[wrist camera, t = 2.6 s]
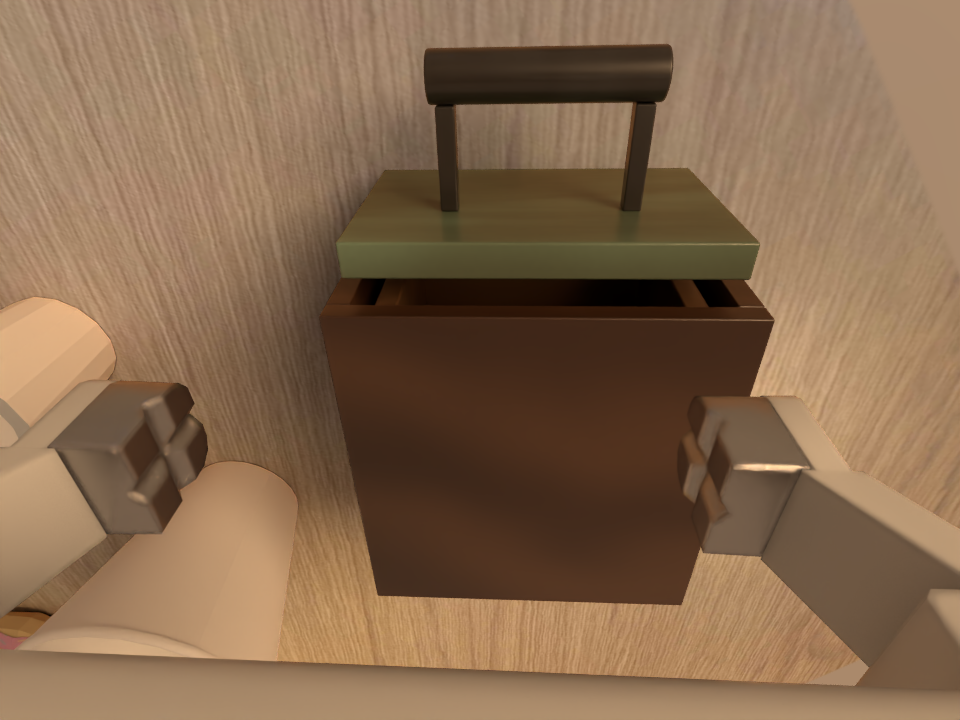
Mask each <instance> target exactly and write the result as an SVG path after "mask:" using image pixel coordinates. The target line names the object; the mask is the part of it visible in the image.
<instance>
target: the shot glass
mask: <svg viewBox="0 0 960 720" xmlns="http://www.w3.org/2000/svg"><path fill="white" fill-rule="evenodd" d="M115 362H116V355H115V352H114V348H113V345H112V342H111V340H110V339H109V338H108V336H107V335H106V334H105V332H104V331H103V330H102V328H101V327H100V326H99V325H98V323H96V322H95V321H94V320H92V319H91V318H90V317H88V316H87V315H86V314H84V313H83V312H82V311H80V310H79V309H77V308H75V307H72V306H70V305H68V304H65V303H63V302H61V301H58V300H56V299H48V298H40V297H31V298H28V299H24V300H21V301H17V302H15V303H13V304H11V305H9V306H7V307H5V308H3V309H1V310H0V447H10V446H11V445H12V444H14V443H15V442H16V441H17V440H18V439H19V438H20V437H21V436H22V435H23V434H24V433H25V432H26V431H28V430H29V429H30V428H31V427H32V426H33V425H34V424H35V423H36V422H37V421H38V420H39V419H41V418H42V417H43V416H44V415H45V414H46V413H47V412H48V411H49V410H50V409H51V408H52V407H54V406H55V405H56V404H57V403H58V402H59V401H60V400H61V399H62V398H63V397H64V396H65V395H67V394H68V393H69V392H70V391H71V390H72V389H73V388H74V387H75V386H76V385H77V384H78V383H80V382H84V381H88V380H107V379H108V378H109V377H110V376H111V374H112V373H113V372H114V367H115Z"/></svg>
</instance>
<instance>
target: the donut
mask: <svg viewBox="0 0 960 720" xmlns="http://www.w3.org/2000/svg"><path fill="white" fill-rule="evenodd" d="M49 618H50V616H48V615H45V614H43V613H37V612H9V613H7V614H6V615H5V616H3V617H2V618H1V619H0V649H9V650H14V649H15V648H16V647H18V646H19V645H20V644H21V643H22V642H24V641H25V640H26V639H27V638H29V637H30V636H31V635H33V634H34V633H35V632H36V631H37V630H38V629H39V628H40V627H41V626H42V625H43V624H44V623H45V622H46V621H47V620H48V619H49Z"/></svg>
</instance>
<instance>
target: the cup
mask: <svg viewBox="0 0 960 720" xmlns="http://www.w3.org/2000/svg"><path fill="white" fill-rule="evenodd" d="M180 492H181V496H182V500H183V501H182V503H181V504H180V506H179V507H178V509H177V510H176V512H175V514H174V515H173V517H172V518H171V520H170V521H169V523H168V525H167V526H166V528H165V529H164V531H163V532H162V534H135V535H134V536H133V537H132V538H131V539H130V540H129V541H128V542H127V543H126V544H125V545H124V546H123V547H122V548H121V549H120V550H119V551H118V552H117V553H116V554H115V555H114V556H113V557H112V558H111V559H110V560H109V561H108V562H107V563H106V564H105V565H104V566H103V567H102V568H101V569H99V570H98V571H97V572H96V573H95V574H94V575H93V576H92V577H91V578H90V579H89V580H88V581H87V582H86V583H85V584H84V585H83V586H82V587H81V588H80V589H79V590H78V591H77V592H76V593H75V594H74V595H73V596H72V597H71V598H70V599H69V600H68V601H67V602H66V603H65V604H64V605H63V606H62V607H60V608H59V609H58V610H57V611H56V612H55V613H54V614H53V615H52V616H51V617H50V618H49V619H48V620H47V621H46V622H45V623H44V624H43V625H42V626H41V627H40V628H39V629H38V630H37V631H36V632H35V633H34V634H33V635H31V636H30V637H29V638H27V639H26V640H25V641H24V642H22V643H21V644H20V645H19V646H18V647H16V648H15V649H14V650H32V651H55V652H78V653H101V654H124V655H147V656H170V657H192V658H216V659H239V660H262V661H277V654H278V647H279V640H280V633H281V626H282V619H283V612H284V605H285V598H286V591H287V584H288V577H289V570H290V563H291V556H292V549H293V542H294V535H295V528H296V521H297V514H298V507H299V506H298V501H297V497H296V495H295V494H294V492H293V490H292V488H291V487H290V486H289V485H288V484H287V483H286V482H285V481H284V480H283V479H282V478H280V477H279V476H277V475H276V474H274V473H273V472H271V471H269V470H266V469H264V468H262V467H260V466H257V465H253V464H249V463H245V462H235V461H226V462H218V463H214V464H212V465H209V466H207V467H205V468H204V469H203V470H202V471H201V472H200V474H199V475H198V477H197V479H196V480H194V481H193V482H191V483H190V484H188V485H187V486H185V487H184V488H183V489H182V490H181V491H180Z"/></svg>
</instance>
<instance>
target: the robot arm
mask: <svg viewBox="0 0 960 720" xmlns="http://www.w3.org/2000/svg"><path fill="white" fill-rule="evenodd" d="M193 405H194V401H193V399H192V397H191V394H190V392H189V390H188V388H187V387H186V386H183V385H181V384H179V383H165V382H143V381H122V380H120V381H115V380H88V381H84V382H80V383H78V384H77V385H76V386H75V387H74V388H73V389H72V390H71V391H70V392H69V393H68V394H67V395H65V396H64V397H63V398H62V399H61V400H60V401H59V402H58V403H57V404H56V405H55V406H54V407H52V408H51V409H50V410H49V411H48V412H47V413H46V414H45V415H44V416H43V417H42V418H41V419H39V420H38V421H37V422H36V423H35V424H34V425H33V426H32V427H31V428H30V429H29V430H28V431H26V432H25V433H24V434H23V435H22V436H21V437H20V438H19V439H18V440H17V441H16V442H15V443H14V444H12V445H11V446H10V447H0V619H1V618H2V617H3V616H5V615H6V614H7V613H9V612H10V611H11V610H12V609H14V608H15V607H16V606H18V605H19V604H20V603H22V602H23V601H24V600H26V599H27V598H28V597H29V596H31V595H32V594H33V593H35V592H36V591H37V590H39V589H40V588H41V587H43V586H44V585H45V584H47V583H48V582H49V581H50V580H52V579H53V578H54V577H56V576H57V575H58V574H60V573H61V572H62V571H64V570H65V569H66V568H67V567H69V566H70V565H71V564H73V563H74V562H75V561H77V560H78V559H79V558H81V557H82V556H83V555H84V554H86V553H87V552H88V551H90V550H91V549H92V548H94V547H95V546H96V545H98V544H99V543H100V542H102V541H103V540H104V539H105V538H107V534H162V532H163V531H164V529H165V528H166V526H167V525H168V523H169V521H170V520H171V518H172V517H173V515H174V514H175V512H176V510H177V509H178V507H179V506H180V504H181V503H182V501H183V500H182V496H181V492H180V489H182V488H184V487H185V486H187V485H188V484H190V483H191V482H193V481H194V480H196V479H197V477H198V475H199V474H200V472H201V470H202V468H203V467H204V464H205V459H206V455H207V451H208V445H207V435H206V432H205V430H204V427H203V424H202V423H200V422H199V421H198V420H197V419H196V418H194V417H193V416H192V415H191V414H189V413H190V411H191V409H192V407H193ZM687 418H688V420H689V423H690V425H691V429H690V430H689V431H687V432H686V433H685V434H684V435H682V436H681V438H680V443H679V447H678V451H677V473H678V479H679V483H680V486H681V489H682V493H683V495H684V496H686V497H687V498H688V499H689V500H690V501H692V502H693V503H694V504H695V505H694V508H693V511H692V514H691V519H692V522H693V525H694V528H695V531H696V534H697V537H698V540H699V542H700V545H701V548H702V551H703V553H710V554H726V555H743V556H759V557H762V558H761V560H762V561H763V562H764V563H765V564H766V565H767V566H768V567H769V568H770V569H771V570H772V571H773V572H774V573H775V574H776V575H777V576H778V577H779V578H780V579H781V580H782V581H783V582H784V583H785V584H786V585H787V586H788V587H789V588H790V589H791V590H792V591H793V592H794V593H795V594H796V595H797V596H798V597H799V598H800V599H801V600H802V601H803V602H804V603H805V604H806V605H807V606H808V607H809V608H810V609H811V610H812V611H813V612H814V613H815V614H816V615H817V616H818V617H819V618H820V619H821V620H822V621H823V622H824V623H825V624H826V625H827V626H828V627H829V628H830V629H831V630H832V631H833V632H834V633H835V634H836V635H837V636H838V637H839V638H840V639H841V640H842V641H843V642H844V643H845V644H846V645H847V646H848V647H849V648H850V649H851V650H852V651H853V652H854V653H855V654H856V655H857V656H858V657H859V658H860V659H861V660H862V661H863V662H864V663H865V664H866V665H867V666H868V667H869V669H868V670H867V671H866V672H865V674H864V675H863V677H862V678H861V679H860V680H859V682H858V683H857V684H856V685H855V686H843V685H819V684H797V683H774V682H751V681H728V680H705V679H682V678H659V677H635V676H612V675H589V674H565V673H542V672H518V671H495V670H472V669H448V668H425V667H402V666H379V665H355V664H332V663H309V662H285V661H262V660H239V659H216V658H192V657H170V656H147V655H124V654H101V653H78V652H55V651H32V650H9V649H0V720H960V529H959V528H957V527H955V526H954V525H952V524H950V523H949V522H947V521H945V520H944V519H942V518H940V517H939V516H937V515H935V514H934V513H932V512H930V511H929V510H927V509H925V508H924V507H922V506H920V505H918V504H917V503H915V502H913V501H912V500H910V499H908V498H907V497H905V496H903V495H902V494H900V493H898V492H897V491H895V490H893V489H892V488H890V487H888V486H887V485H885V484H883V483H882V482H880V481H878V480H877V479H875V478H873V477H872V476H870V475H868V474H867V473H865V472H860V471H852V470H851V468H850V467H849V466H848V464H847V463H846V461H845V460H844V458H843V457H842V456H841V454H840V453H839V451H838V450H837V449H836V447H835V446H834V444H833V443H832V442H831V440H830V439H829V437H828V436H827V434H826V433H825V432H824V430H823V429H822V427H821V426H820V425H819V423H818V422H817V420H816V419H815V417H814V416H813V415H812V413H811V412H810V410H809V409H808V408H807V406H806V405H805V403H804V402H803V401H802V400H801V399H799V398H798V397H796V396H760V397H742V396H694V398H693V400H692V401H691V403H690V406H689V409H688V413H687Z"/></svg>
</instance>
